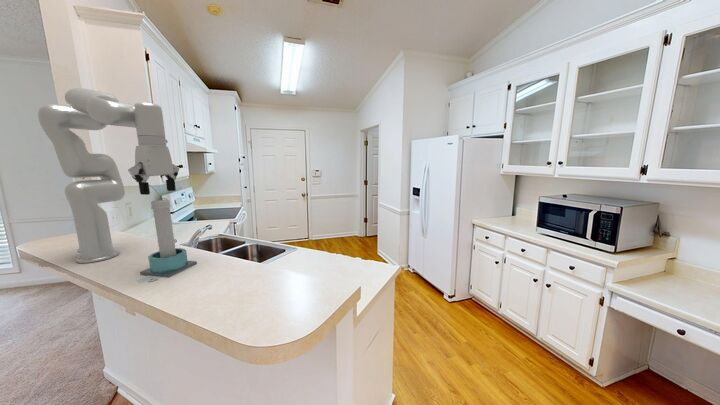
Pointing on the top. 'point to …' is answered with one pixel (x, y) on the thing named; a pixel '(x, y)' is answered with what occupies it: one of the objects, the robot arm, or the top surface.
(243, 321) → the top surface
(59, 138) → the robot arm
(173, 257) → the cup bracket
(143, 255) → the top surface
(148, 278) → the mounting bracket
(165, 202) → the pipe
